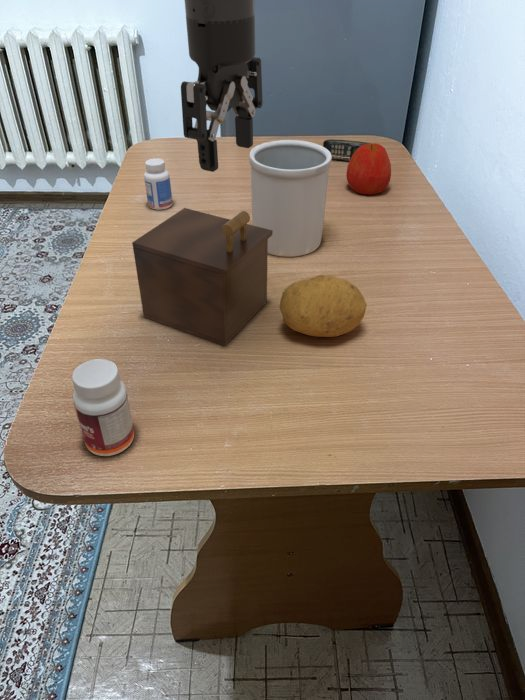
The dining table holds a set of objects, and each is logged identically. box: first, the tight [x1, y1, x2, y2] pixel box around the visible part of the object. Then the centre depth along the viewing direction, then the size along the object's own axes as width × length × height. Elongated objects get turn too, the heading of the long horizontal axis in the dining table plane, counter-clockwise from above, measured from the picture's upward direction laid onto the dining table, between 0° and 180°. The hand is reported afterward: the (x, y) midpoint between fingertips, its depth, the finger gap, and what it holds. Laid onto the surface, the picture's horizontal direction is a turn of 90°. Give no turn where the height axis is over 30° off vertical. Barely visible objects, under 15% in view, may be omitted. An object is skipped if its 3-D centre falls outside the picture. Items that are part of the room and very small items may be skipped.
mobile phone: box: [322, 138, 373, 162], centre depth 145 cm, size 5×3×15 cm
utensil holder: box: [248, 139, 333, 258], centre depth 107 cm, size 15×15×18 cm
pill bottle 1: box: [71, 358, 135, 457], centre depth 68 cm, size 6×6×11 cm
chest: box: [132, 239, 269, 347], centre depth 90 cm, size 16×14×13 cm
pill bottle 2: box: [143, 157, 173, 211], centre depth 122 cm, size 6×5×10 cm
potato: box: [279, 274, 367, 338], centre depth 87 cm, size 10×13×9 cm
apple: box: [345, 143, 392, 195], centre depth 129 cm, size 10×10×10 cm
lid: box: [131, 207, 272, 275], centre depth 84 cm, size 16×14×5 cm
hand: (227, 157), depth 72 cm, fingers open, 8 cm apart
